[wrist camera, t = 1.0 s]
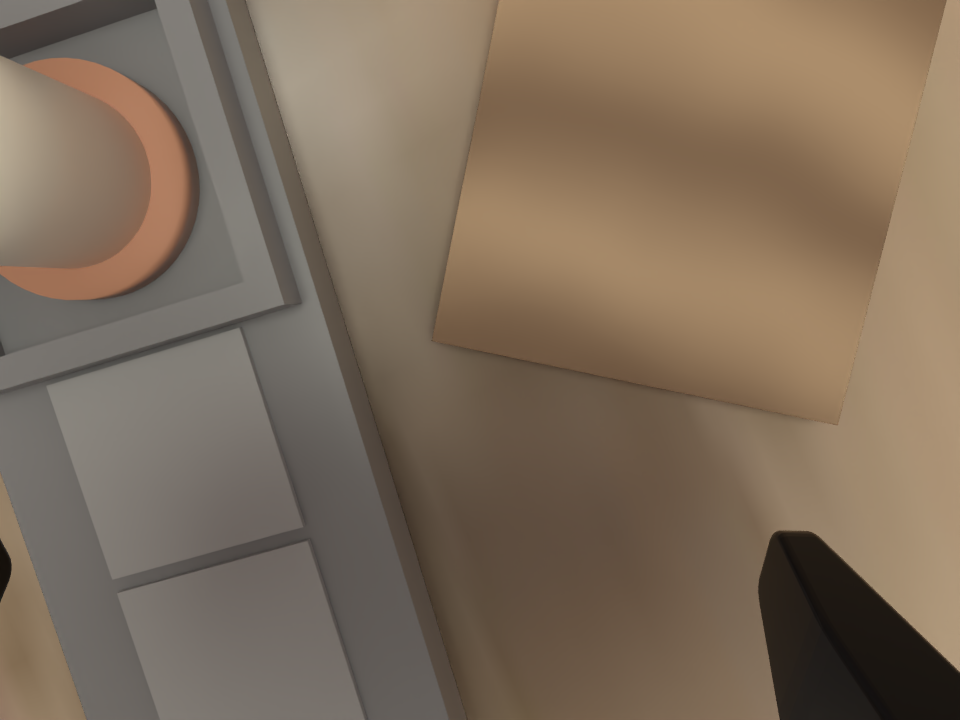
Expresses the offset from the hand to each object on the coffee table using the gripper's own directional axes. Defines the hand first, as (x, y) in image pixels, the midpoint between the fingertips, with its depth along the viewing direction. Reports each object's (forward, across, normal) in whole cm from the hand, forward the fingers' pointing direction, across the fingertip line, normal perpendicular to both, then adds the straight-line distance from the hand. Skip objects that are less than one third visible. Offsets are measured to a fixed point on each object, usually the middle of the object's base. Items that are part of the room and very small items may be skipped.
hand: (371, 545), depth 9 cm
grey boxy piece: (+11, +8, +8) cm, 16 cm away
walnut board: (+15, -6, +1) cm, 16 cm away
